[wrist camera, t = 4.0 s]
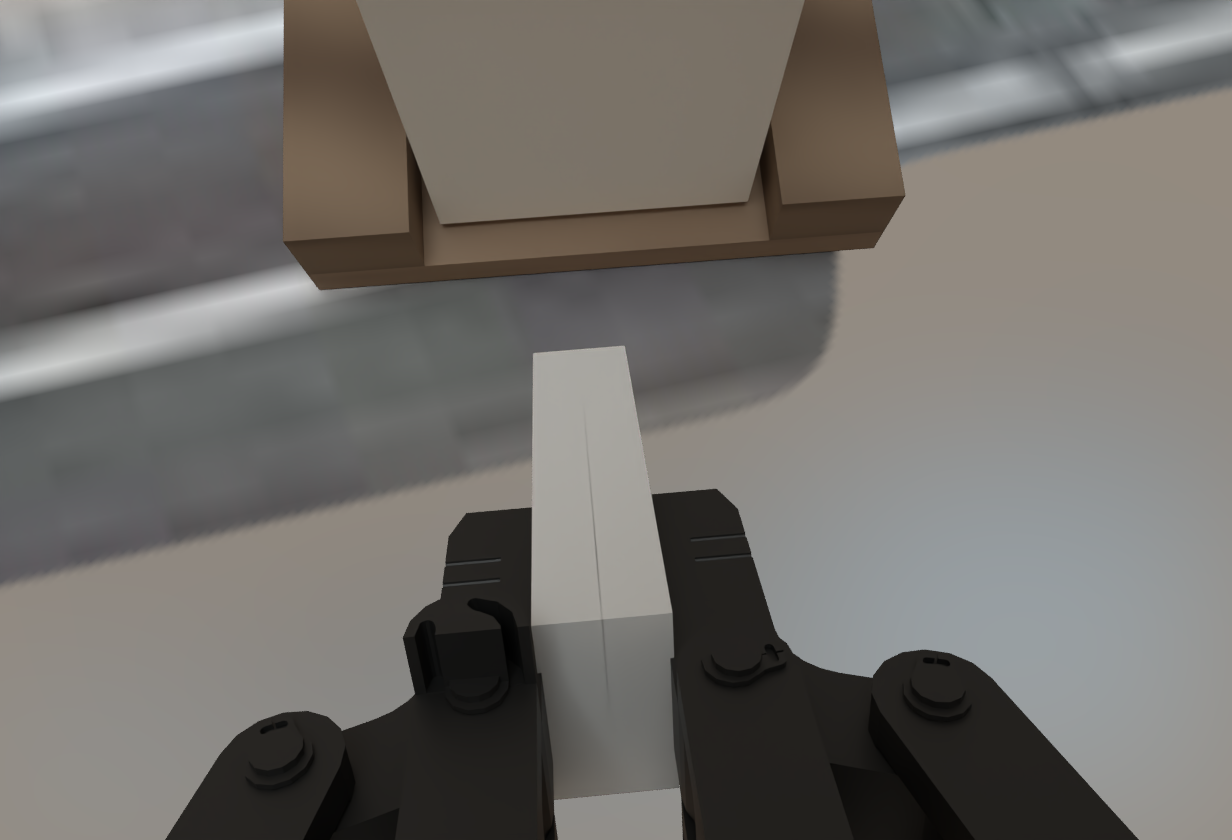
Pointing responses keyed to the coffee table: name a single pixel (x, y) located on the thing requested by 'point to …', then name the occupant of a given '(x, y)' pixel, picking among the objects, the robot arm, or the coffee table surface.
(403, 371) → the coffee table surface
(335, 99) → the dark open tray
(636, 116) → the beige upright block
